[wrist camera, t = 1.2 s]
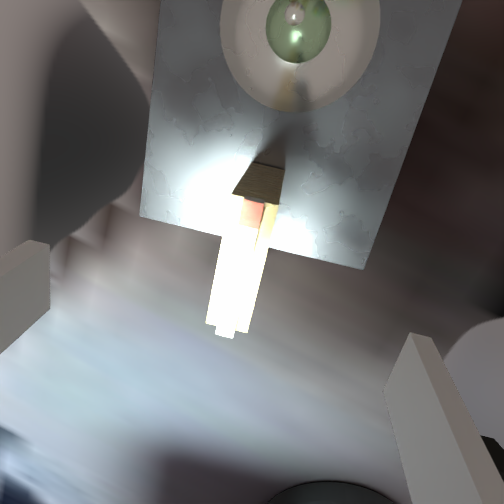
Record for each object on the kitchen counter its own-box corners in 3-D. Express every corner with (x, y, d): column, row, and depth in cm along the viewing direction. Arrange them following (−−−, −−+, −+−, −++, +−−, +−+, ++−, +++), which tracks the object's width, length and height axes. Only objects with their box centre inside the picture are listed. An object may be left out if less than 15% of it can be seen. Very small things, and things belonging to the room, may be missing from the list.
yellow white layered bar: (260, 268, 28) (245, 341, 20) (230, 261, 28) (202, 331, 20) (285, 168, 25) (278, 207, 17) (251, 160, 25) (228, 195, 17)
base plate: (361, 264, 28) (370, 291, 24) (144, 212, 28) (120, 231, 25) (546, -247, 18) (613, -338, 14) (200, -320, 18) (173, -429, 14)
